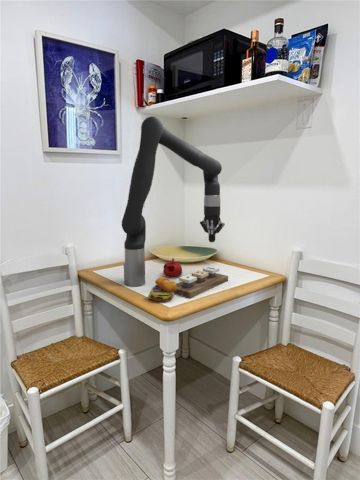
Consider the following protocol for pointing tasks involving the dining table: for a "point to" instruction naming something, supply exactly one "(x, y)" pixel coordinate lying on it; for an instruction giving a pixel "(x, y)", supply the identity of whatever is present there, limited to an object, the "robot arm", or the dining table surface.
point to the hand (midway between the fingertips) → (211, 241)
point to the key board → (200, 286)
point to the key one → (187, 280)
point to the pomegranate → (172, 269)
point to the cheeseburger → (163, 290)
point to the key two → (200, 275)
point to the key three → (211, 271)
